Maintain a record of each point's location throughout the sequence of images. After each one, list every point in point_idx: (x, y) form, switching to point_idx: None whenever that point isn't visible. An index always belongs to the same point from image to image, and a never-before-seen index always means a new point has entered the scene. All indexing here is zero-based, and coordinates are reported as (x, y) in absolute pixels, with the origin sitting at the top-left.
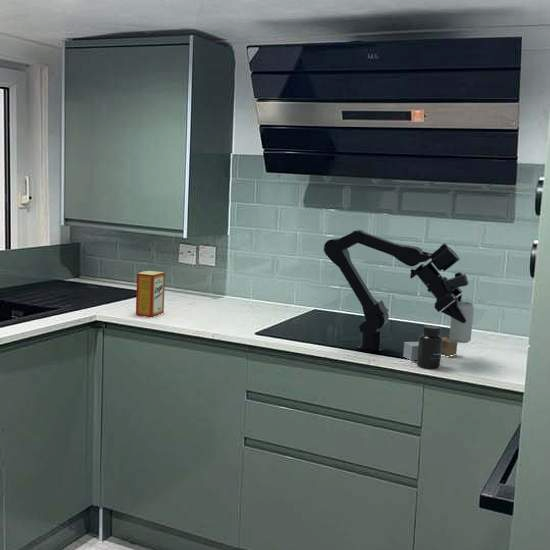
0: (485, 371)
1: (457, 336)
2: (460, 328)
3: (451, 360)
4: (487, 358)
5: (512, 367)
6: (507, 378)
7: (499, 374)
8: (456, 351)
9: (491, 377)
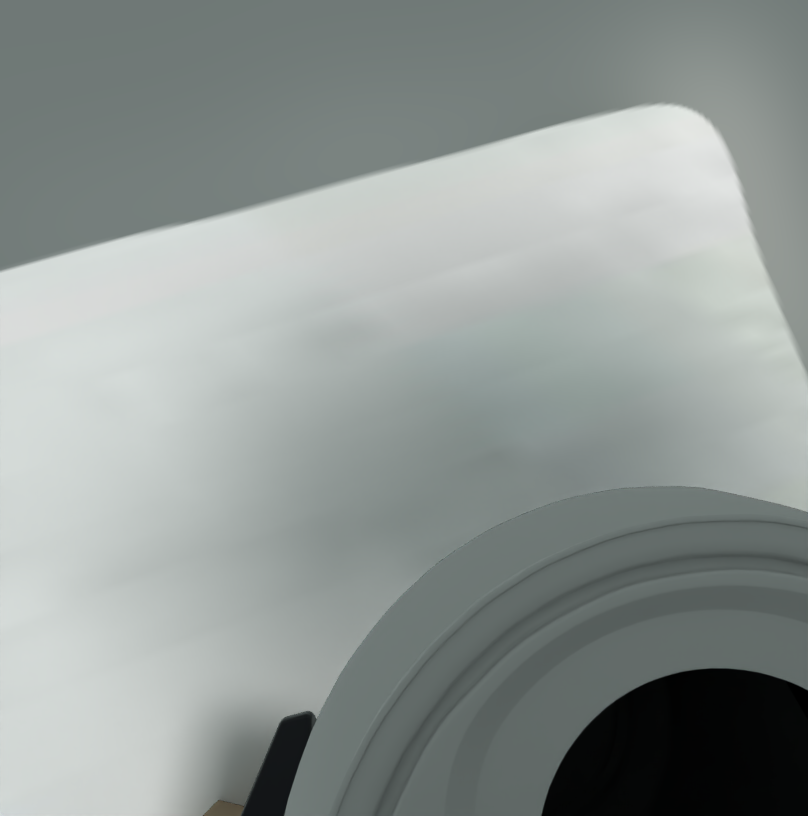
0: (586, 367)
1: (692, 699)
2: (739, 679)
3: None
4: (117, 512)
5: (281, 256)
6: (644, 183)
7: (582, 259)
8: (206, 813)
9: (722, 273)
